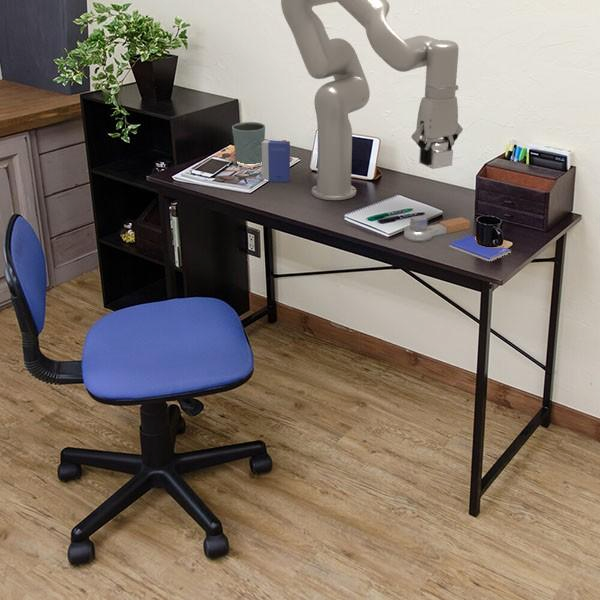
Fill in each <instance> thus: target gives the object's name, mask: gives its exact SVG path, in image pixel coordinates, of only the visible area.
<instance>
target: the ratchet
mask: <svg viewBox="0 0 600 600" xmlns="http://www.w3.org/2000/svg"><path fill="white" fill-rule="evenodd" d="M409 223H410V224H409V225H407V226H405V227H404V228H403V229H404V230H403V238H404V239H405V240H406V241H410V242H413V243H425V242H429V241H431V240H432V239H433V237H435V236H441V235H445V234H451V233H456V232H460V231H465V230H470V228H471V227H470V226H471V221H470V220H468V219H466V217H465V218H464V217H463V216H459V217H455V218H450V219H445V220H442V221H439V223H437V224H433V225H428V218H426V217H424V216H422V215H417V216H411V217H410V221H409Z"/></svg>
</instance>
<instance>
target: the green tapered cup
mask: <svg viewBox="0 0 600 600" xmlns="http://www.w3.org/2000/svg"><path fill="white" fill-rule="evenodd" d="M231 131H232V136H233V146H234V153H235V162H236V161H238V162H240V163H244V164H256V163H261V162H262V142H263V141H264V140H266V138H265V137H266V125H265V124H264V123H261V122H255V121H247V122H245V121H244V122H239V123H235V124H233V125H232V126H231Z"/></svg>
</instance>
